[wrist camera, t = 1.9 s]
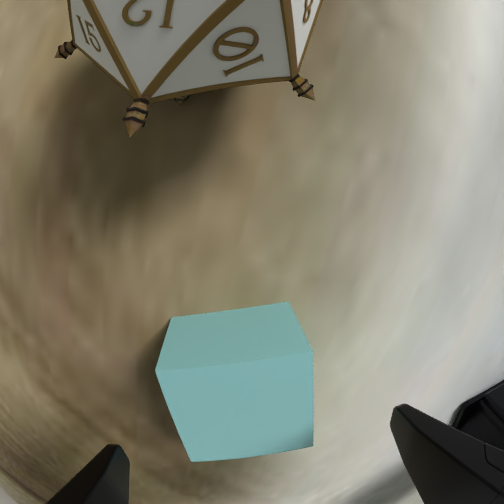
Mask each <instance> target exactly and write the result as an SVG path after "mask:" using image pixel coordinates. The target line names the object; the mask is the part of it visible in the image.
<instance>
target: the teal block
mask: <svg viewBox="0 0 504 504" xmlns="http://www.w3.org/2000/svg"><path fill="white" fill-rule="evenodd" d="M155 372H156V375H157V378H158V381H159V384H160V387H161V389H162V392H163V395H164V398H165V400H166V403H167V405H168V408H169V411H170V413H171V416H172V418H173V421H174V423H175V426H176V428H177V430H178V433H179V435H180V437H181V440H182V442H183V444H184V447H185V449H186V451H187V453H188V456H189V458H190V460H191V462H198V461H214V460H227V459H237V458H246V457H254V456H261V455H268V454H274V453H280V452H286V451H291V450H297V449H302V448H306V447H311V446H313V418H314V400H313V350H312V348H311V346H310V344H309V342H308V340H307V338H306V336H305V334H304V332H303V330H302V328H301V326H300V324H299V322H298V320H297V317H296V315H295V313H294V311H293V309H292V307H291V305H290V303H289V302H283V303H276V304H270V305H263V306H256V307H249V308H242V309H235V310H228V311H220V312H212V313H205V314H196V315H188V316H179V317H171V320H170V324H169V327H168V330H167V333H166V336H165V339H164V343H163V346H162V349H161V352H160V356H159V359H158V362H157V366H156V369H155Z"/></svg>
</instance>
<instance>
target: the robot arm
mask: <svg viewBox="0 0 504 504" xmlns="http://www.w3.org/2000/svg"><path fill="white" fill-rule="evenodd" d="M390 428H391V431H392V433H393V436H394V439H395V441H396V444H397V447H398V450H399V452H400V455H401V458H402V460H403V463H404V465H405V467H406V469H407V471H408V473H409V475H410V477H411V479H412V481H413V483H414V484H415V486H416V488H417V490H418V492H419V494H420V496H421V498H422V500H423V502H424V504H504V381H503V382H501V383H499V384H498V385H496V386H494V387H493V388H491V389H489V390H487V391H485V392H484V393H482V394H480V395H478V396H476V397H475V398H473V399H471V400H469V401H467V402H465V403H464V404H463V405H462V407H461V409H460V411H459V414H458V416H457V419H456V421H455V424H454V426H453V427H451V426H449V425H447V424H445V423H443V422H441V421H439V420H437V419H435V418H433V417H431V416H429V415H427V414H425V413H423V412H421V411H419V410H417V409H415V408H414V407H412V406H410V405H408V404H401V405H399V406H396V407H395V408H394V409H393V413H392V417H391V421H390ZM129 470H130V462H129V459H128V457H127V456H126V454H125V452H124V451H123V449H122V447H121V446H120V445H117V444H108V445H106V446H105V447H104V448H103V449H102V450H101V451H100V452H99V453H98V454H97V455H96V456H95V457H94V458H93V459H92V460H91V461H90V462H89V463H88V464H87V465H86V466H85V467H84V468H83V469H82V470H81V471H80V472H79V473H77V474H76V475H75V476H74V477H73V478H72V479H71V480H70V481H69V482H68V483H67V484H66V485H65V486H64V487H63V488H62V489H61V490H60V491H58V492H57V493H56V494H55V495H54V496H53V497H52V498H51V499H50V500H49V501H48V502H47V503H45V504H128V501H129Z"/></svg>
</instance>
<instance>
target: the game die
mask: <svg viewBox="0 0 504 504" xmlns="http://www.w3.org/2000/svg"><path fill="white" fill-rule="evenodd" d="M67 2H68V11H69V19H70V26H71V33H72V41H71V42H64V44H63V45H60V46H58V51H57V53H56V56H55V58H64V59H66V58H67V56H68V55H72V53H73V51H74V50H75V49H76V48H78V49H79V50H80V51H81V52H82V53H83V54H85V55H86V56H87V57H88V58H89V59H90V60H91V61H92V62H94V63H95V64H96V65H97V66H98V67H99V68H100V69H101V70H102V71H104V72H105V73H106V74H107V75H108V76H109V77H110V78H111V79H112V80H114V81H115V82H116V83H117V84H118V85H119V86H120V87H121V88H122V89H124V90H125V91H126V92H127V93H128V94H129V95H130V96H131V97H132V98H133V99H134V103H133V104H132V106H131V107H130V108H127V110H126V111H127V112H128V113H127V115H126V117H124V118H123V119H122V120H124V121H125V124H126V128H127V131H128V135H129V138H130V137H131V136H132V135H133V134H134V133H135V132H136V131H137V130H138V129H140V128H141V127H144V125H145V122H146V121H144V119H145V118H146V117H147V114H148V111H147V105H148V104H151V103H155V102H159V101H163V100H167V99H172V98H175V100H177V101H178V102H179V103H180V104H181V103H182V102H184V101H185V100H186V99H187V98H189V95H190V94H196V93H201V92H206V91H212V90H218V89H224V88H230V87H237V86H244V85H252V84H260V83H269V82H280V81H290V82H291V83H292V85H293V91H294V90H296V92H297V93H298V97H300V96H302V97H305V98H309V99H312V100H315V99H314V93H313V88H312V87H314V86H313V85H311V84H309V83H308V82H307V81H308V80H307V79H303V78H302V77H300V76H299V74H298V73H299V70H300V67H301V64H302V61H303V58H304V55H305V52H306V49H307V46H308V43H309V40H310V37H311V34H312V31H313V28H314V25H315V22H316V19H317V16H318V13H319V10H320V7H321V5H322V2H323V0H67Z"/></svg>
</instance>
